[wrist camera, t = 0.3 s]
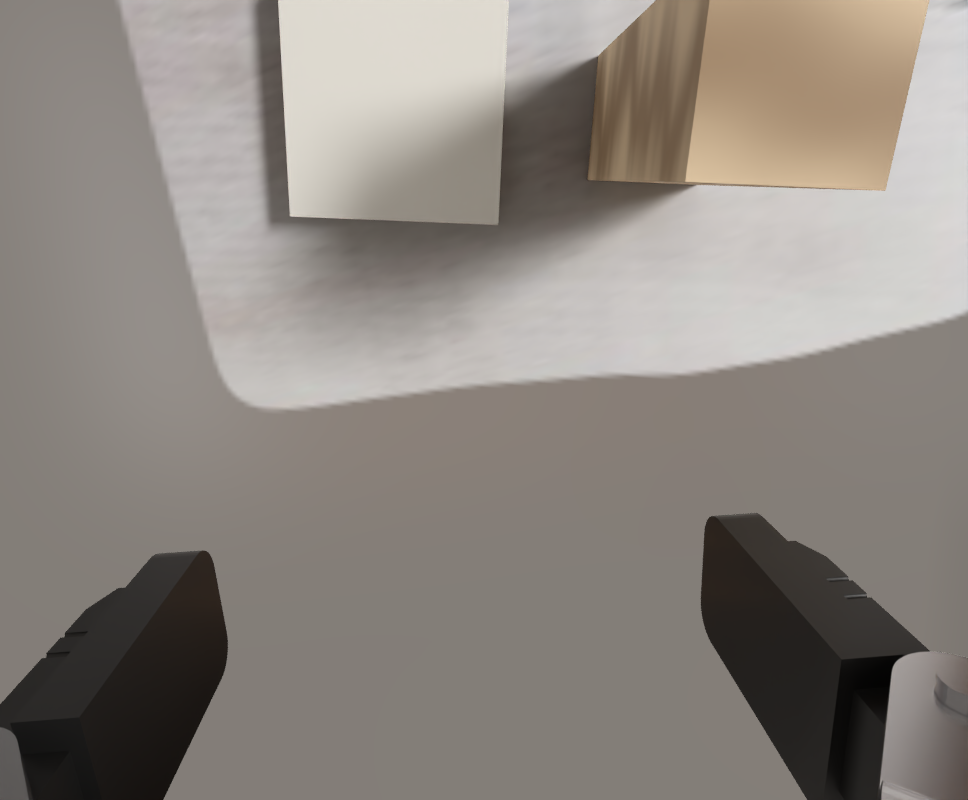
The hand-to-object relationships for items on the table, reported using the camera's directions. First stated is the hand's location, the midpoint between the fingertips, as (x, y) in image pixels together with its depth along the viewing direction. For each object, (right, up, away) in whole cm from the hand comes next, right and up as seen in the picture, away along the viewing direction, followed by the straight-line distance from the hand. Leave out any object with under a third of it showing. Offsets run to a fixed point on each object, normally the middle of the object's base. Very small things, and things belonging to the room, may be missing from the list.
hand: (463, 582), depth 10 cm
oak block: (+8, +15, +18) cm, 25 cm away
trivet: (-3, +15, +17) cm, 24 cm away
